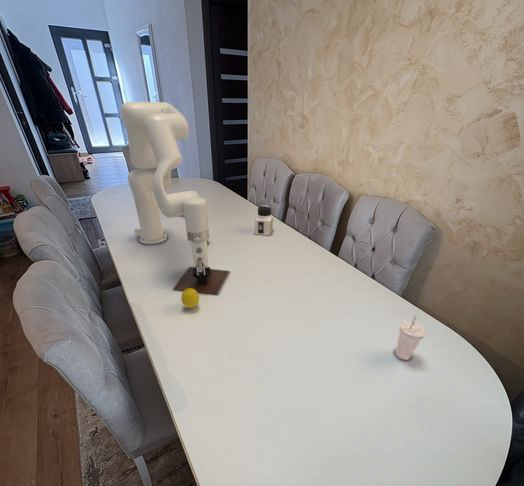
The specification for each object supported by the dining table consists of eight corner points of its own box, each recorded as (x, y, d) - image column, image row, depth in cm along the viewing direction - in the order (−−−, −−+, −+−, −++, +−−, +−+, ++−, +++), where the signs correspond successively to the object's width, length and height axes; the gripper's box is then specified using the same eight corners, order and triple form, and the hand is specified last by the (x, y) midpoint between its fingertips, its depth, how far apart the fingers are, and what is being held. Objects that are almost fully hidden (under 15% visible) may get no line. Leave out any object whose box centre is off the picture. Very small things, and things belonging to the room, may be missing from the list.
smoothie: (386, 347, 88) (399, 308, 80) (408, 346, 88) (423, 307, 81) (396, 364, 82) (412, 323, 75) (419, 363, 83) (436, 323, 75)
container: (269, 235, 152) (271, 210, 145) (254, 234, 153) (255, 208, 146) (272, 229, 158) (273, 205, 151) (258, 228, 160) (258, 203, 152)
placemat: (173, 289, 110) (173, 288, 109) (190, 268, 123) (189, 266, 123) (216, 294, 108) (216, 293, 107) (228, 272, 121) (228, 271, 121)
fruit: (191, 315, 98) (189, 294, 93) (179, 309, 100) (176, 288, 96) (203, 306, 102) (201, 286, 97) (190, 301, 104) (188, 281, 100)
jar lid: (209, 268, 118) (208, 264, 117) (212, 277, 112) (212, 272, 111) (191, 271, 115) (190, 266, 114) (194, 279, 110) (194, 275, 109)
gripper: (210, 244, 99) (213, 290, 108) (208, 224, 113) (211, 266, 123) (186, 245, 97) (191, 292, 107) (187, 225, 112) (192, 267, 121)
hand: (202, 278), depth 115 cm, fingers closed on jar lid, 6 cm apart
